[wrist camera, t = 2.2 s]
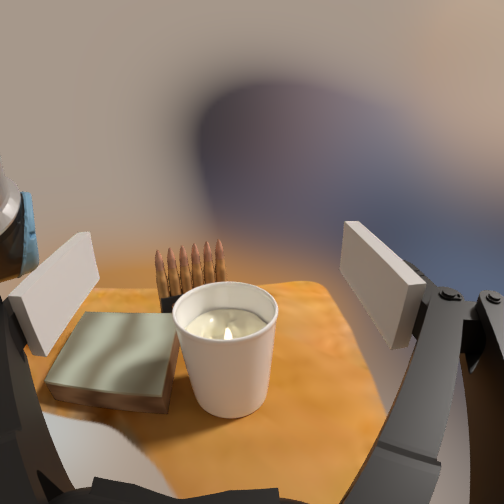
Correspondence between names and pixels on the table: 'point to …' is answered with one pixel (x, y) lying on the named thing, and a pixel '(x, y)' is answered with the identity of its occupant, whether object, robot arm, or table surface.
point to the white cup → (227, 345)
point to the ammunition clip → (187, 273)
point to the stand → (118, 362)
